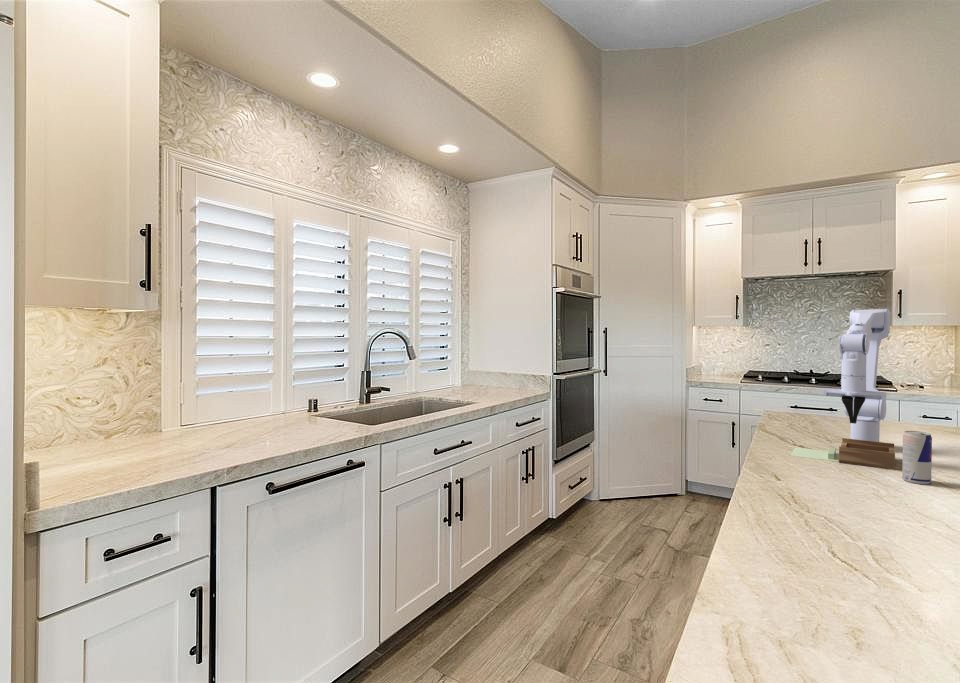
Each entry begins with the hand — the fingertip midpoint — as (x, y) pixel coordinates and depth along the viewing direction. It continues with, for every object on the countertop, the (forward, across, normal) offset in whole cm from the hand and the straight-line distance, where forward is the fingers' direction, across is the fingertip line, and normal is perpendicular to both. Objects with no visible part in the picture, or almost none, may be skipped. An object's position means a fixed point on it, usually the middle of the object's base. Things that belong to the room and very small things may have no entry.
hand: (853, 422), depth 143 cm
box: (+10, +3, 0) cm, 11 cm away
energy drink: (+10, +13, -16) cm, 24 cm away
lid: (+11, -9, -1) cm, 14 cm away
